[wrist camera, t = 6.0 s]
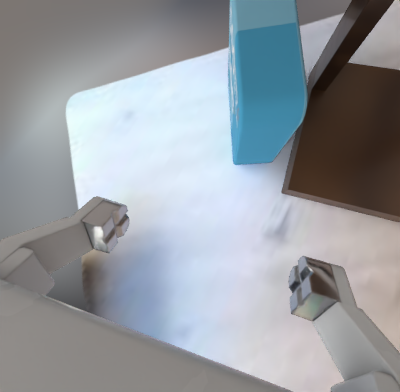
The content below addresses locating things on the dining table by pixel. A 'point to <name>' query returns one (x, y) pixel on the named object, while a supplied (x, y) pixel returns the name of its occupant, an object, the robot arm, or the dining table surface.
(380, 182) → the shelf
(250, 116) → the data package
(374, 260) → the dining table surface
